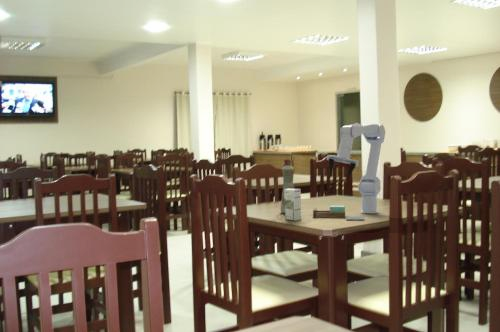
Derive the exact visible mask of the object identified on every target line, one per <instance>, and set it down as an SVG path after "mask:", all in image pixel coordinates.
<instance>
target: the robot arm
mask: <svg viewBox="0 0 500 332" xmlns="http://www.w3.org/2000/svg"><path fill="white" fill-rule="evenodd" d="M339 135H340V136H339V140H340V142H339V147H338V151H337V155H332V154H327V156H326V161H328V167H329V177H332V175H333V170H334V169H333V168H334V164H335V162H337V163H343V164H349V168H348V173H347V176H346V181H347V180H349V179H350V178H349V177H350V175H351V174H352V172H353V171H354V169H356V167H359V164H360V161H359V160H356V159H352V158H350V157H351V153H352V149H353V143H354V139H356V138H357V137H360V136H362V135H363V137H364V140H365V141H366V143H368V144H370V149H369V153H368V158H367V159H368V161H367V166H366V171H365V174H364V175H363V176H362V177H360V181H359V183H358V185H357V189H358V192H359V193H360V195H361V210H360V212H361V214H379V211H378V195H379V194H380V192H381V188H382V187H381V186H382V185H381V180H380V178H379V177H378V176H377V172H378V166H379V160H380V154H381V147H382V144H383V143H384V141H385V136H386V129H385V126H384V124H378V123H377V124H376V123H370V124H367V123H366V124H363V125H362V124H360V123H358V122H355V123H351V124H349V125H343V126H342V127H341V128H340V130H339Z"/></svg>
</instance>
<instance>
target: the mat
mask: <svg viewBox="0 0 500 332" xmlns="http://www.w3.org/2000/svg"><path fill="white" fill-rule="evenodd" d="M345 218H346V219H345V220H346V222H347V221H349V222H350V221H351V222H352V221H355V222H357V221H361V222H362V221H363V222H364V221H365V217H364V216H345Z"/></svg>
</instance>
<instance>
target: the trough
mask: <svg viewBox="0 0 500 332" xmlns="http://www.w3.org/2000/svg"><path fill="white" fill-rule="evenodd" d="M312 216H313V217H312V218H317V219H318V218H320V219H321V218H326V219H328V218H329V219H330V218H331V219H332V218H333V219H334V218H338V219H341V218H342V219H343V218H346V212H345V213H330V209H329V210H324V209H323V210H317V207H313V210H312Z"/></svg>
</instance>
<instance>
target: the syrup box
mask: <svg viewBox="0 0 500 332" xmlns="http://www.w3.org/2000/svg"><path fill="white" fill-rule="evenodd" d="M301 193H302V192H301V188H294V189H293V188H288V189H284V202H285V214H284V220H285V221H291V222H293V221H294V222H295V221H300V219H301V220H302V201H301V200H302V197H301V196H302V194H301Z"/></svg>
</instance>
